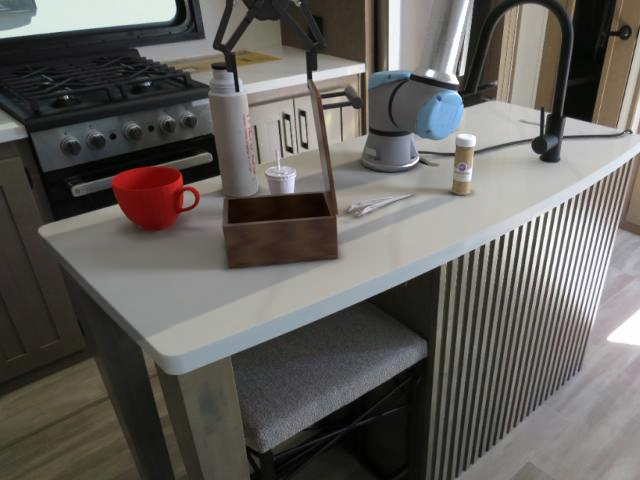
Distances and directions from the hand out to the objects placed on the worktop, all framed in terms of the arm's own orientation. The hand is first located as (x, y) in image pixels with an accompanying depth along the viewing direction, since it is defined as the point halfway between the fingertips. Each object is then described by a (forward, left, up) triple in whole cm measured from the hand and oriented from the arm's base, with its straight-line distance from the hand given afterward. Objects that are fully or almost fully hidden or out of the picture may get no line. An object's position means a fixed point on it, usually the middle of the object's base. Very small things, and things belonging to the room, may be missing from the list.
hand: (274, 90), depth 107 cm
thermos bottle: (+9, -16, -26) cm, 32 cm away
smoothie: (0, -1, -26) cm, 26 cm away
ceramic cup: (+24, 0, -26) cm, 36 cm away
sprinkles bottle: (-42, -6, -26) cm, 49 cm away
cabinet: (+2, +15, -26) cm, 30 cm away
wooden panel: (-7, +15, -7) cm, 18 cm away
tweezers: (-22, -2, -26) cm, 34 cm away
